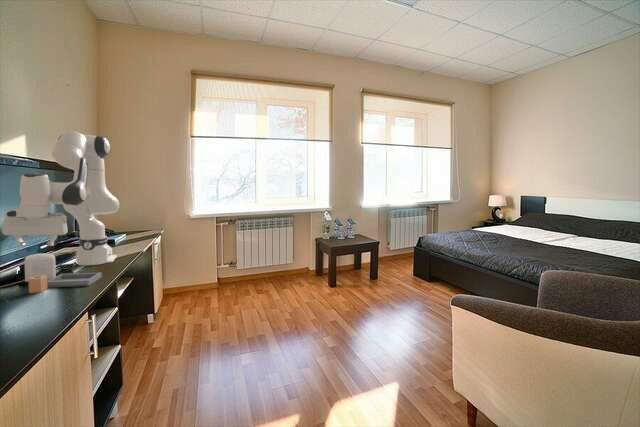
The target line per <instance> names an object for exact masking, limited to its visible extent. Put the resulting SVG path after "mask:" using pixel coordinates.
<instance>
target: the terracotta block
mask: <svg viewBox="0 0 640 427" xmlns="http://www.w3.org/2000/svg"><path fill="white" fill-rule="evenodd" d="M47 281H48V280H47V276H34V277H32V278H30V279H29V282H28V293H29V294H40V293H43V292H45V291H47V290H48V288H47Z"/></svg>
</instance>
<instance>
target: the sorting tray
mask: <svg viewBox="0 0 640 427" xmlns="http://www.w3.org/2000/svg"><path fill="white" fill-rule="evenodd" d="M101 278H102V272H81V273H79V272H78V273H60V274H59V275H56V277H54V278H52V279H50V280H47V289H49V288H51V289H52V288H69V287H70V288H72V287H73V288H74V287H89V286H91V285H92V284H95V283H96V282H97V281H99V280H100V279H101Z"/></svg>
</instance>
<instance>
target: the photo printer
mask: <svg viewBox="0 0 640 427" xmlns="http://www.w3.org/2000/svg"><path fill="white" fill-rule="evenodd" d="M34 276H47V281H48V280H50V279H52V278H54V277H56V276H57V275H56V257H55V254H53V253H33V254H30V255H27V256H25V259H24V282H26V283H27V282H28V283H29V279H30V278H32V277H34Z"/></svg>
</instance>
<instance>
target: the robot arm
mask: <svg viewBox="0 0 640 427" xmlns="http://www.w3.org/2000/svg"><path fill="white" fill-rule="evenodd" d="M110 152H111V144H110V141H109V140H108V139H107V138H106V137H104V136H101V135H94V134H93V135H91V134H84V133H83V134H82V133H80V132H78V131H75V130H68V131H66V132H64V133H63V134H61V135H60V136H59V137H58V139H57V141H56V142H55V145H54V147H53V148H52V153H51V155H52V158H53V160H54V162H56V163H57V164H58V165H60V166H62V167H63V168H65V169H70V170H73V171H74V172H73V179H72V181H70V182H58V181H57V182H54V181H51V180H50V179H49V176H48V174H46V173H42V172H27V173H24V174H22V175H21V178H20V180H19V182H20V183H19V196H20V200H21V201H20V204H19V208H15V209H12V210H8V211H7V210H5V211H4V212H3V216H4V219H2V222H1V223H2V224H1V233H2V234H3V235H4V236H13V237H14V239H15V240H16V242H17V243H18V245H17V246H18V247H26V246H27V241H26V240H23V236H49V237H50V240H49V241H47V242H46V246H47V247H52V246H55V241H56V240H57V238H58V236H64V235H65V236H66V234H67V233H69V232H68V230H69V229H68V225H67V221H68V220H67V219H68V218H67V215H66V214H63V213H62V212H51V211H52V208H51V205H62V206H63V209H64V211H66V212H67V213H69V214H70V215H72V216H73V217H74V219H75V220H76V221H77V224H78V228H79V239H78V240H79V241H78V244H79V247H78V248H76V256H75V261H77V263H78V266H97V265H98V266H99V265H101V264H102V265H103V264H109V263H113V262H114V261H115V260H116V258H118V255H117V254H113V248H112V246H110V245H108V240H109V237H108V236H106V225H105V224H104V223H103V221H100V220H99V219H96V218H95V216H94V215H110V214H115V213H117V211H118V210H119V208H120V202H119V199H118V198H117V197H116V196H114V195H113V194H112V193H111V192H110V191H109V190H108V187H107V185H106V175H105V174H106V168H105V167H106V166H105V157H106V156H108V154H109V153H110ZM87 189H89V191H90V193H91V194H87Z"/></svg>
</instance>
